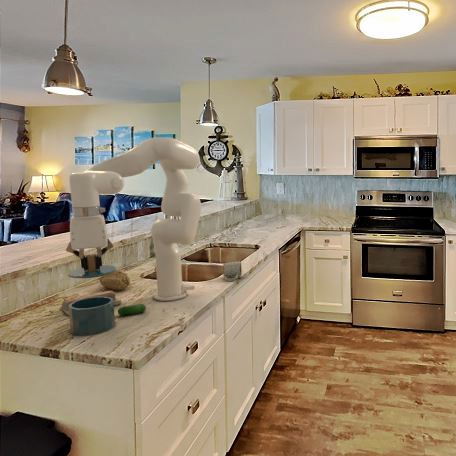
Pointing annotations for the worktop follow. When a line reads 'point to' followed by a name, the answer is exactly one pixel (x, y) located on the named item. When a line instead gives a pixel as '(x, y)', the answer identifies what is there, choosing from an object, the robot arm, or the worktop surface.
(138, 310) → the cucumber
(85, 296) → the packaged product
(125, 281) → the brown rounded lump
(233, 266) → the ceramic mug
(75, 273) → the crock lid
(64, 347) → the worktop surface
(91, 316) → the crock
